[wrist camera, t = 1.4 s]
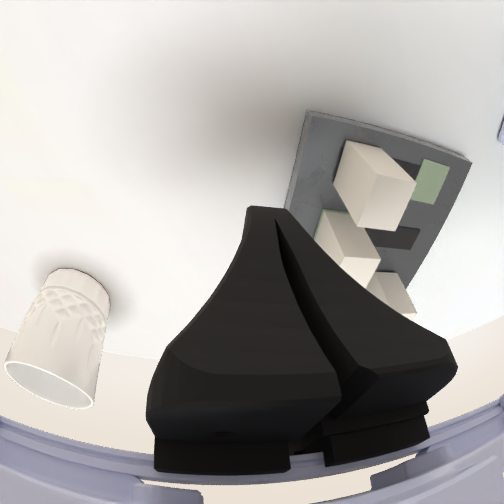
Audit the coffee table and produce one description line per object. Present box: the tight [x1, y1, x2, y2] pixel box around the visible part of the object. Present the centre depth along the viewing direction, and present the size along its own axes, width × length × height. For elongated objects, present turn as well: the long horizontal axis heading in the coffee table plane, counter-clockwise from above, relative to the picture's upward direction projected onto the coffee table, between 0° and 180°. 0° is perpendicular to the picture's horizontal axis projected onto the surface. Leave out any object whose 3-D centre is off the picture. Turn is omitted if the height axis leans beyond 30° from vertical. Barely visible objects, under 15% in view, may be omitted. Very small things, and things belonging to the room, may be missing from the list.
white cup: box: [4, 269, 110, 409], centre depth 21 cm, size 8×8×10 cm
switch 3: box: [366, 272, 417, 321], centre depth 23 cm, size 2×3×4 cm
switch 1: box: [333, 140, 417, 231], centre depth 15 cm, size 2×3×4 cm
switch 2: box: [315, 211, 381, 289], centre depth 19 cm, size 2×3×4 cm
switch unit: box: [284, 110, 472, 289], centre depth 21 cm, size 13×15×1 cm
